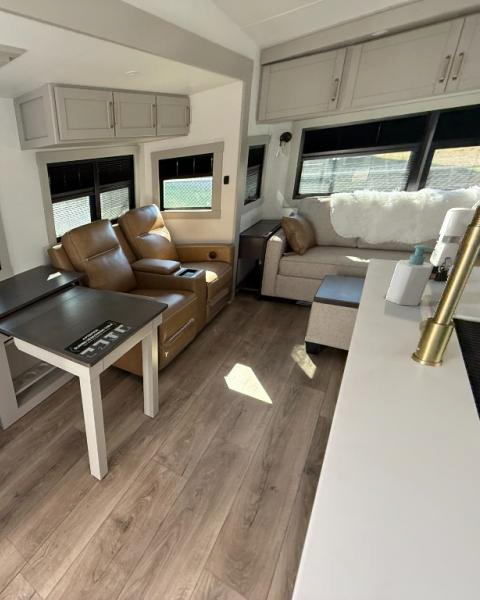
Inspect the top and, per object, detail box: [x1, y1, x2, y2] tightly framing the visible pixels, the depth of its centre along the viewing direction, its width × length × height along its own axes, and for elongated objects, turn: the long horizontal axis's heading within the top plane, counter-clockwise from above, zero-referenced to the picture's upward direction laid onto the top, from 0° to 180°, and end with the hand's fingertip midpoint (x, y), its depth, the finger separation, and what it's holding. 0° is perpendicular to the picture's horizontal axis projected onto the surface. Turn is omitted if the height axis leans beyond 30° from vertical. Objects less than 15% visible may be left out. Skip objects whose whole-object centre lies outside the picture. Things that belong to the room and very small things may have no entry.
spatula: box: [428, 274, 450, 282], centre depth 140 cm, size 18×6×3 cm, turn 56°
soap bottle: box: [385, 244, 435, 307], centre depth 120 cm, size 10×9×22 cm
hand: (435, 277), depth 138 cm, fingers open, 8 cm apart
